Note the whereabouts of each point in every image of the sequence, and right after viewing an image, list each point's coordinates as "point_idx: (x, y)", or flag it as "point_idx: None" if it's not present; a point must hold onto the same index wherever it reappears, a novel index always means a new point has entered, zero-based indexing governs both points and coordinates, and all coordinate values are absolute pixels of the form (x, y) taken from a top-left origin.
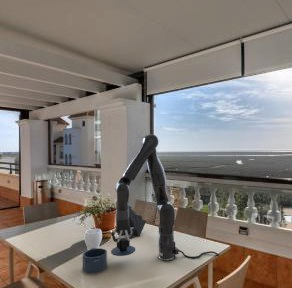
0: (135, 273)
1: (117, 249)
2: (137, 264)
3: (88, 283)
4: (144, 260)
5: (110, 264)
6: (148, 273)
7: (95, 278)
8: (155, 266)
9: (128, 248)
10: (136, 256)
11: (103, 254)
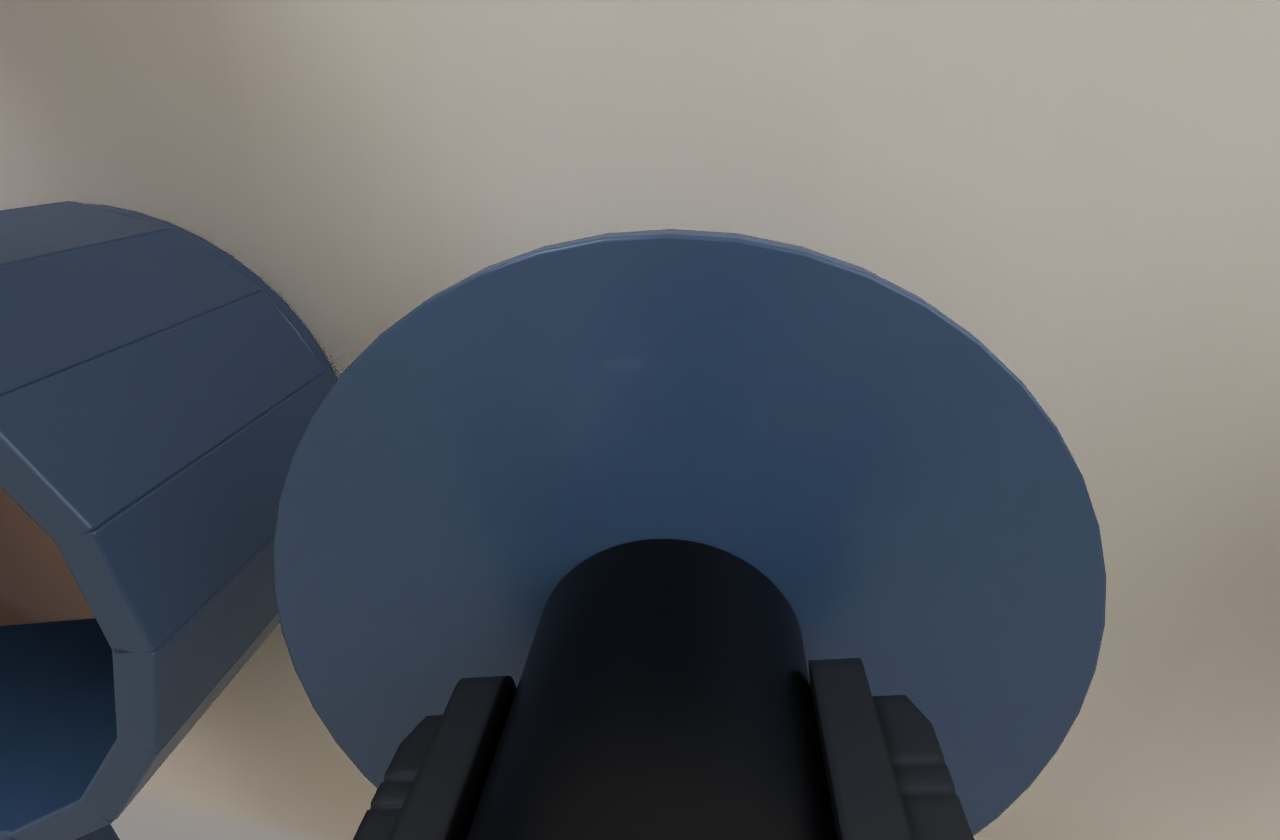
0: None
1: (475, 553)
2: None
3: (187, 795)
4: (1177, 391)
5: None
6: (1028, 826)
7: (246, 720)
8: (1254, 683)
9: (863, 601)
10: (1082, 96)
11: (105, 779)
